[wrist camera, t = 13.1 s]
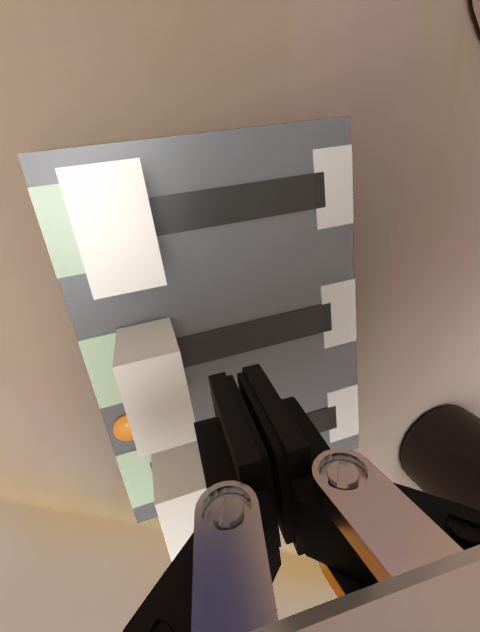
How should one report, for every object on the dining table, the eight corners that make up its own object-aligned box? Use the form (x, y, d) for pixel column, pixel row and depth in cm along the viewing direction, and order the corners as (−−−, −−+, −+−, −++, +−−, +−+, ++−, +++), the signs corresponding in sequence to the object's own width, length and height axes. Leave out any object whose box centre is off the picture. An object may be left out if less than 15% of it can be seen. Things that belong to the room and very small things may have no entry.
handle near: (137, 167, 14) (139, 157, 11) (159, 264, 16) (166, 285, 12) (75, 175, 14) (54, 168, 10) (102, 275, 15) (93, 300, 12)
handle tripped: (169, 317, 17) (180, 351, 13) (185, 390, 18) (199, 439, 14) (116, 329, 16) (112, 367, 12) (137, 403, 18) (139, 458, 14)
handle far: (195, 430, 19) (210, 486, 15) (208, 487, 20) (225, 551, 17) (150, 444, 18) (154, 505, 15) (166, 501, 20) (174, 570, 16)
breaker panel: (327, 124, 18) (353, 114, 16) (341, 429, 25) (361, 450, 23) (30, 159, 15) (14, 153, 13) (137, 495, 22) (137, 527, 20)
